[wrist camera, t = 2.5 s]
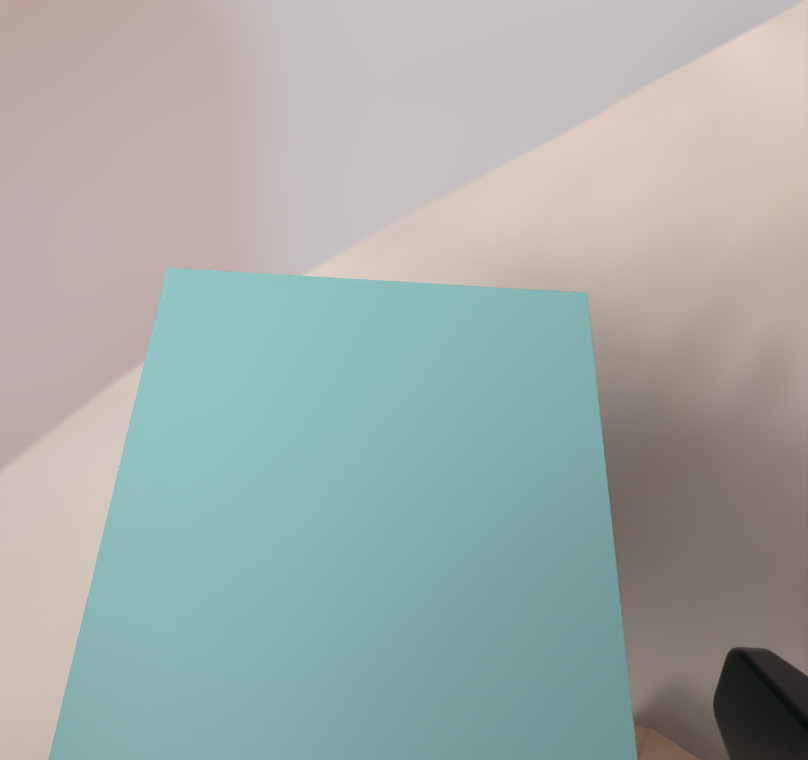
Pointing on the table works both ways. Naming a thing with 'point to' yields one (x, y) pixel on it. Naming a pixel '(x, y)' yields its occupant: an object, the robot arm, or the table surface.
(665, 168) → the table surface
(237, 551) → the block
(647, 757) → the board
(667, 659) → the table surface
